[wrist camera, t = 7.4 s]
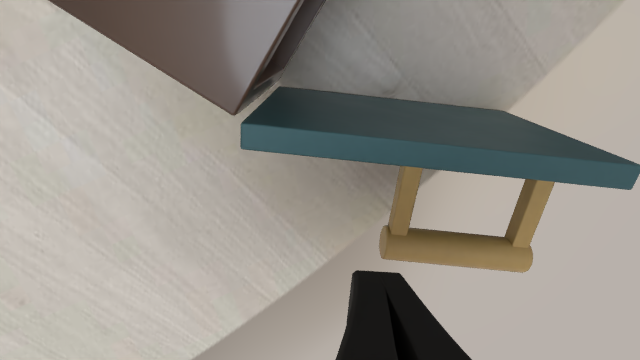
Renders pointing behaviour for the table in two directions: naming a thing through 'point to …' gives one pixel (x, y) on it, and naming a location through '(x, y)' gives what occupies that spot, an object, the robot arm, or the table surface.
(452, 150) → the cabinet door
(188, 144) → the table surface
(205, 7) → the cabinet
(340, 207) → the table surface
